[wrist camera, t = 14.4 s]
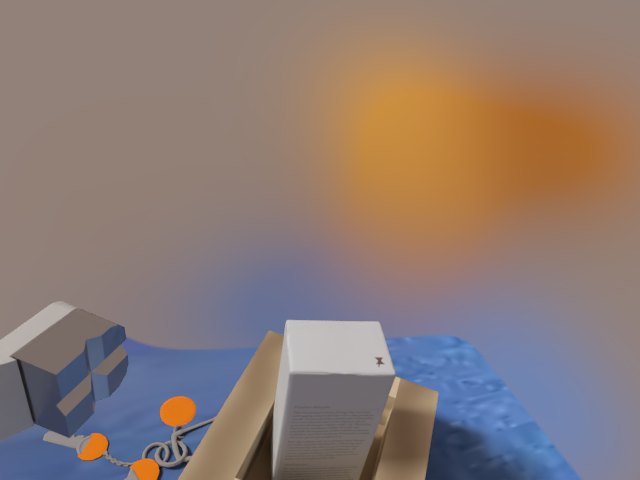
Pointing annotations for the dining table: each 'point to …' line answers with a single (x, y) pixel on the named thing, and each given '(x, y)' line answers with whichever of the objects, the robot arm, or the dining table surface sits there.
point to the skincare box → (328, 399)
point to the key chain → (145, 470)
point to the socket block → (256, 418)
